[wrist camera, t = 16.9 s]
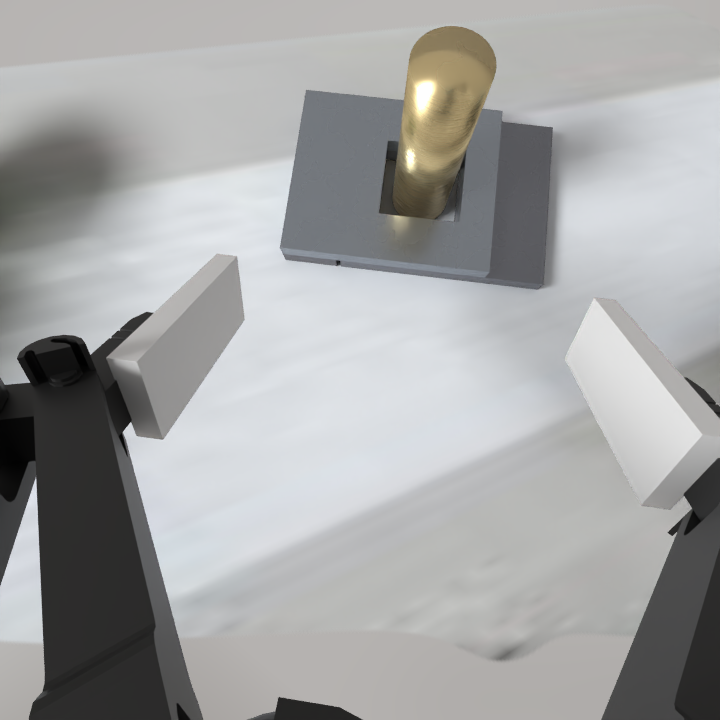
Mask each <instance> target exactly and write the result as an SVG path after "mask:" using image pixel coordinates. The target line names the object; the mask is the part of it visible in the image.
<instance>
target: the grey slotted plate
mask: <svg viewBox="0 0 720 720" xmlns="http://www.w3.org/2000/svg"><path fill="white" fill-rule="evenodd" d="M403 106H404V100H395V99H386V98H377V97H367V96H358V95H349V94H339V93H330V92H321V91H311V90H306V94H305V100H304V106H303V112H302V118H301V124H300V130H299V136H298V142H297V148H296V154H295V161H294V167H293V173H292V179H291V185H290V191H289V197H288V203H287V209H286V215H285V221H284V227H283V233H282V239H281V245H280V249H281V251H282V253H283V255H284V257H285V259H286V260H293V261H301V262H310V263H318V264H327V265H335V266H337V261H338V260H339V261H348V262H356V263H365V264H373V265H382V266H390V267H399V268H407V269H416V270H424V271H433V272H441V273H449V274H458V275H466V276H475V277H483V278H485V277H486V276H487V274H488V273H489V271H490V259H491V247H492V234H493V222H494V210H495V197H496V185H497V172H498V160H499V148H500V135H501V123H502V111H498V110H489V109H482V111H481V113H480V116H479V118H478V121H477V124H476V126H475V129H474V132H473V134H472V137H471V140H470V142H469V145H468V148H467V150H466V153H465V155H464V158H463V164H462V174H461V185H460V195H459V206H458V216H457V222H450V221H442V220H433V219H424V218H415V217H407V216H398V215H389V214H380V213H379V209H380V201H381V194H382V186H383V178H384V170H385V162H386V155H387V150H391V151H398V146H399V138H400V130H401V122H402V114H403Z"/></svg>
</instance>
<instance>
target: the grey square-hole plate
mask: <svg viewBox="0 0 720 720" xmlns="http://www.w3.org/2000/svg"><path fill="white" fill-rule="evenodd" d="M552 130H553V128H552V127H543V126H534V125H524V124H515V123H506V122H502V123H501V135H500V148H499V160H498V172H497V185H496V197H495V210H494V222H493V234H492V247H491V259H490V271H489V273H488V274H487V276H486V277H485V278H483V277H475V276H466V275H458V274H449V273H441V272H433V271H424V270H416V269H407V268H399V267H390V266H382V265H373V264H365V263H356V262H348V261H340V263H341V266H343V267H352V268H360V269H369V270H377V271H386V272H394V273H403V274H411V275H420V276H428V277H436V278H445V279H453V280H462V281H470V282H479V283H487V284H496V285H504V286H513V287H521V288H530V289H538V288H539V287H541V286H542V285H543V283H544V266H545V249H546V232H547V215H548V198H549V181H550V164H551V147H552ZM397 154H398V151H391V150H387V155H386V159H389V160H397ZM462 164H463V161H462V163H461V166H460V169H459V179H458V189H457V200H456V210H455V220H454V222H457V216H458V206H459V195H460V185H461V174H462ZM385 165H386V162H385ZM384 173H385V170H384ZM383 181H384V178H383ZM382 188H383V186H382ZM381 196H382V194H381ZM380 204H381V201H380ZM379 212H380V209H379Z"/></svg>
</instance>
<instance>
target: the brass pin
mask: <svg viewBox="0 0 720 720" xmlns="http://www.w3.org/2000/svg"><path fill="white" fill-rule="evenodd" d="M495 73H496V58H495V54H494V52H493V50H492V48H491V46H490V45H489V43H488V42H487V41H486V40H485V39H484V38H483V37H482V36H480V35H479V34H478V33H476V32H474V31H472V30H469V29H467V28H463V27H457V26H446V27H440V28H437V29H434V30H432V31H430V32H428V33H426V34H425V35H423V36H422V37H421V38H420V39H419V40H418V41H417V42H416V44H415V45H414V47H413V49H412V51H411V54H410V58H409V65H408V73H407V81H406V89H405V97H404V106H403V114H402V122H401V130H400V138H399V146H398V154H397V162H396V170H395V178H394V186H393V194H392V201H393V205H394V208H395V209H396V211H397V212H398V214H399V215H400V216H407V217H415V218H424V219H433V220H434V219H435V218H437V217H438V216H439V215H440V214H441V213H442V212H443V210H444V208H445V206H446V203H447V200H448V198H449V195H450V192H451V190H452V187H453V185H454V182H455V179H456V177H457V174H458V171H459V169H460V166H461V163H462V161H463V158H464V155H465V153H466V150H467V148H468V145H469V142H470V140H471V137H472V134H473V132H474V129H475V126H476V124H477V121H478V118H479V116H480V113H481V111H482V108H483V105H484V103H485V100H486V97H487V95H488V92H489V89H490V87H491V84H492V81H493V79H494V76H495Z"/></svg>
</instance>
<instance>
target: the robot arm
mask: <svg viewBox="0 0 720 720" xmlns="http://www.w3.org/2000/svg"><path fill="white" fill-rule="evenodd" d="M244 320H245V319H244V311H243V302H242V294H241V286H240V277H239V269H238V260H237V256H231V255H222V254H216V255H215V256H214V257H213V258H212V259H211V260H210V261H209V262H208V263H207V264H206V265H205V266H204V267H203V268H201V269H200V270H199V271H198V272H197V273H196V274H195V275H194V276H193V277H192V278H191V279H190V280H189V281H188V282H187V283H185V284H184V285H183V286H182V287H181V288H180V289H179V290H178V291H177V292H176V293H175V294H174V295H173V296H172V297H170V298H169V299H168V300H167V301H166V302H165V303H164V304H163V305H162V306H161V307H160V308H159V309H158V310H157V311H155V312H154V313H150V312H145V313H143V314H141V315H139V316H137V317H135V318H133V319H131V320H130V321H129V322H127V323H126V324H125V325H124V326H123V327H122V328H121V329H120V331H117V332H116V333H115V334H114V335H113V336H112V338H111V339H110V338H109V339H108V340H107V341H106V342H105V343H104V344H102V345H101V346H100V347H99V348H98V349H97V350H96V351H94V352H93V353H92V354H91V355H90V354H89V351H88V349H87V346H86V344H85V342H84V341H83V340H82V338H79V337H76V336H71V335H60V336H52V337H48V338H45V339H41V340H38V341H36V342H34V343H32V344H30V345H28V346H26V347H25V348H24V349H23V350H22V351H21V352H20V353H19V355H18V357H17V360H18V361H19V363H20V365H21V367H22V369H23V370H24V372H25V374H26V376H27V377H28V379H29V381H30V383H22V384H11V385H4V383H3V382H2V380H1V378H0V585H1V582H2V579H3V576H4V573H5V570H6V566H7V563H8V560H9V557H10V554H11V551H12V548H13V545H14V542H15V539H16V536H17V533H18V530H19V527H20V524H21V521H22V517H23V514H24V511H25V508H26V505H27V502H28V499H29V496H30V493H31V490H32V487H33V484H34V481H35V478H36V479H37V502H38V525H39V549H40V572H41V595H42V618H43V642H44V662H45V663H44V664H45V684H44V688H43V692H42V693H41V694H40V695H39V697H38V698H37V699H36V700H35V701H34V702H33V705H32V709H31V712H30V716H29V720H203V717H202V714H201V711H200V708H199V704H198V701H197V699H196V696H195V693H194V691H193V688H192V685H191V682H190V679H189V675H188V672H187V668H186V664H185V660H184V657H183V653H182V649H181V645H180V642H179V638H178V634H177V630H176V627H175V623H174V619H173V615H172V612H171V608H170V604H169V600H168V597H167V593H166V589H165V585H164V582H163V578H162V574H161V570H160V567H159V563H158V559H157V555H156V552H155V548H154V544H153V540H152V537H151V533H150V529H149V525H148V522H147V518H146V514H145V510H144V507H143V503H142V499H141V495H140V492H139V488H138V484H137V480H136V477H135V473H134V469H133V465H132V461H131V458H130V454H129V450H128V446H127V443H126V439H125V437H124V435H123V431H124V430H125V428H126V427H127V426H128V425H129V423H130V422H131V423H132V425H133V428H134V430H135V433H136V435H137V436H140V437H147V438H154V439H162V440H163V439H164V438H165V436H166V435H167V433H168V432H169V430H170V429H171V427H172V426H173V424H174V423H175V421H176V420H177V418H178V417H179V416H180V414H181V413H182V411H183V410H184V408H185V407H186V405H187V404H188V402H189V401H190V399H191V398H192V396H193V395H194V393H195V392H196V390H197V389H198V388H199V386H200V385H201V383H202V382H203V380H204V379H205V377H206V376H207V374H208V373H209V371H210V370H211V368H212V367H213V365H214V364H215V362H216V361H217V359H218V358H219V357H220V355H221V354H222V352H223V351H224V349H225V348H226V346H227V345H228V343H229V342H230V340H231V339H232V337H233V336H234V334H235V333H236V331H237V330H238V329H239V327H240V326H241V324H242V323H243V321H244ZM565 361H566V363H567V365H568V367H569V369H570V371H571V372H572V374H573V376H574V378H575V380H576V382H577V384H578V386H579V388H580V390H581V392H582V394H583V395H584V397H585V399H586V401H587V403H588V405H589V407H590V409H591V411H592V413H593V415H594V417H595V419H596V420H597V422H598V424H599V426H600V428H601V430H602V432H603V434H604V436H605V438H606V440H607V442H608V443H609V445H610V447H611V449H612V451H613V453H614V455H615V457H616V459H617V461H618V463H619V465H620V466H621V468H622V470H623V472H624V474H625V476H626V478H627V480H628V482H629V484H630V486H631V488H632V490H633V491H634V493H635V495H636V497H637V499H638V501H639V503H640V505H641V506H648V507H655V508H662V509H669V510H670V509H671V508H672V507H673V506H674V505H675V504H676V503H677V502H678V501H679V500H680V499H681V498H682V497H683V496H685V498H686V499H687V501H688V502H689V504H690V505H691V507H692V509H691V510H690V511H689V512H688V513H687V514H686V515H685V516H684V517H683V518H682V519H681V520H680V521H679V522H678V523H677V524H676V525H675V526H674V527H673V528H672V529H671V530H670V531H669V532H668V533H669V534H670V535H672V536H673V535H674V534H675V533H676V532H677V535H676V537H675V540H674V542H673V544H672V547H671V549H670V552H669V554H668V557H667V559H666V562H665V564H664V567H663V569H662V572H661V574H660V577H659V579H658V581H657V584H656V586H655V589H654V591H653V594H652V596H651V599H650V601H649V604H648V606H647V609H646V611H645V613H644V616H643V618H642V621H641V623H640V626H639V628H638V631H637V633H636V636H635V638H634V641H633V643H632V645H631V648H630V650H629V653H628V655H627V658H626V660H625V663H624V665H623V668H622V670H621V673H620V675H619V678H618V680H617V682H616V685H615V688H614V690H613V692H612V695H611V697H610V700H609V702H608V705H607V707H606V709H605V712H604V714H603V717H602V720H720V407H719V405H716V404H715V403H716V402H715V401H714V400H713V399H712V398H711V397H710V396H709V394H708V393H707V392H706V391H705V390H704V389H702V388H701V387H700V386H698V385H697V384H695V383H694V382H692V381H691V380H690V379H688V378H686V377H683V376H682V375H681V374H680V373H679V372H678V371H677V369H676V368H675V367H674V366H673V365H672V364H671V363H670V361H669V360H668V359H667V358H666V357H665V356H664V355H663V353H662V352H661V351H660V350H659V349H658V348H657V347H656V345H655V344H654V343H653V342H652V341H651V340H650V339H649V337H648V336H647V335H646V334H645V333H644V332H643V331H642V329H641V328H640V327H639V326H638V325H637V324H636V323H635V321H634V320H633V319H632V318H631V317H630V316H629V315H628V313H627V312H626V311H625V310H624V309H623V308H622V307H621V306H620V304H619V303H618V302H617V301H616V300H610V299H602V298H594V299H593V301H592V303H591V305H590V307H589V309H588V311H587V313H586V315H585V317H584V319H583V322H582V324H581V326H580V328H579V330H578V332H577V334H576V336H575V338H574V340H573V342H572V344H571V346H570V348H569V350H568V353H567V355H566V357H565ZM248 720H362V719H360V718H358V717H357V716H354V715H353V714H351V713H349V712H347V711H345V710H343V709H342V708H340V707H334V706H328V705H322V704H316V703H310V702H304V701H298V700H291V699H286V698H280V697H279V698H278V702H277V707H276V712H271V713H266V714H262V715H259V716H257V717H254V718H251V719H248Z"/></svg>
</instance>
